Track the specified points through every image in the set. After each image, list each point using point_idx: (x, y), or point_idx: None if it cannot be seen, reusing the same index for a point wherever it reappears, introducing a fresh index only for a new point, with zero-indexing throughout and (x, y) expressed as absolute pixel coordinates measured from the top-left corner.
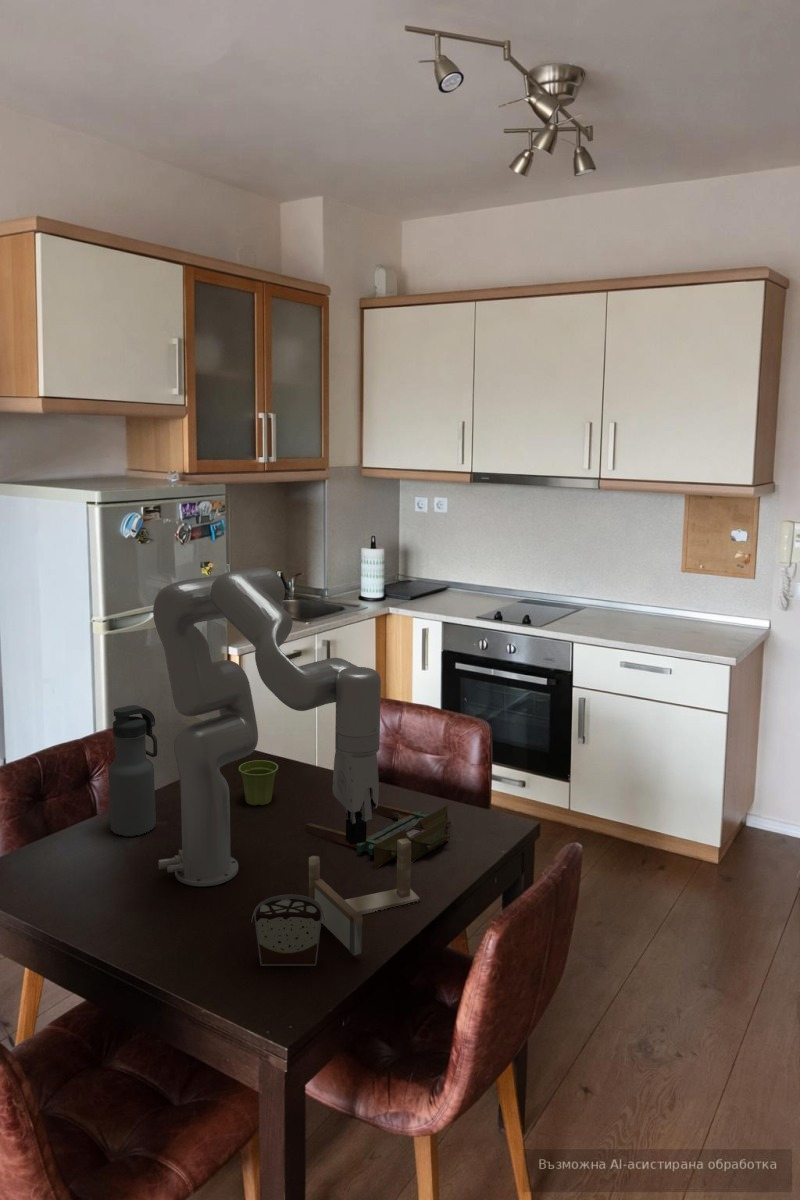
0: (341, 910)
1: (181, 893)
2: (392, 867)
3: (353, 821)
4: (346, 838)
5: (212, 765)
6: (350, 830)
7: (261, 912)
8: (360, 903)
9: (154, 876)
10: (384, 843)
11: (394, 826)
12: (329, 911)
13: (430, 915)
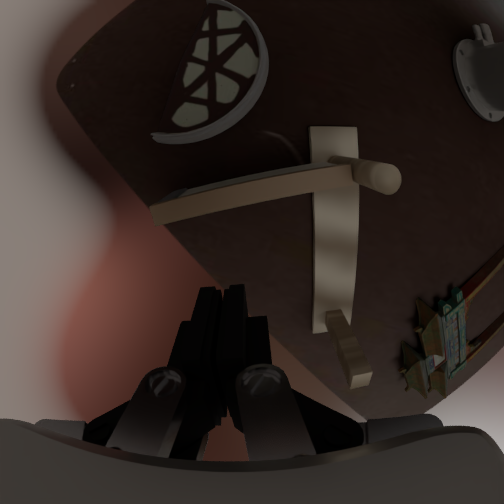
0: (208, 190)
1: (441, 28)
2: (407, 318)
3: (141, 386)
4: (234, 290)
5: None
6: (189, 332)
7: (213, 12)
8: (337, 250)
9: None
10: (435, 328)
11: (461, 341)
12: (268, 175)
13: (272, 332)
